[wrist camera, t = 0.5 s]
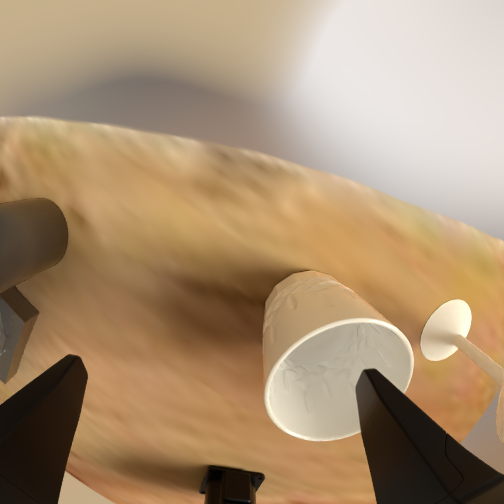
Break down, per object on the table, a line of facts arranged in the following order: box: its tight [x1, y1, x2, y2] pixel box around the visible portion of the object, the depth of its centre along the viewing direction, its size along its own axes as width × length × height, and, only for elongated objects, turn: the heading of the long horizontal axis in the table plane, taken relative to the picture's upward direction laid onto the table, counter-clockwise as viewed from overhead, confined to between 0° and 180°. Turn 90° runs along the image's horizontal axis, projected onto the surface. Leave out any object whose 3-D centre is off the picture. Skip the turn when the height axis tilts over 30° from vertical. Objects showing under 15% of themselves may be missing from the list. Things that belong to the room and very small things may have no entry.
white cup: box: [263, 270, 414, 441], centre depth 18 cm, size 8×8×10 cm
